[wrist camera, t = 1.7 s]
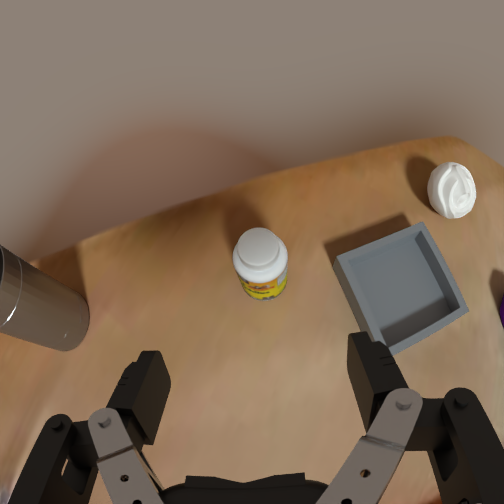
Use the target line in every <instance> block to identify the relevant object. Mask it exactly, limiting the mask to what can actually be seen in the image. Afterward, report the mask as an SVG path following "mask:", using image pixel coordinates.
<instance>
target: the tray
mask: <svg viewBox="0 0 504 504" xmlns="http://www.w3.org/2000/svg"><path fill="white" fill-rule="evenodd" d="M333 269H334V272H335V274H336V276H337V278H338V280H339V282H340V284H341V287H342V289H343V291H344V293H345V295H346V298H347V300H348V302H349V304H350V307H351V309H352V311H353V313H354V316H355V318H356V320H357V323H358V325H359V327H360V330H361V332H363V331H367V333H368V335H369V337H370V339H371V341H372V342H375V341H381V342H382V343H383V344H385V345H386V346H387V347H388V348H389V350H390V352H391V354H392V356H393V355H395V354H397V353H399V352H401V351H402V350H404V349H406V348H408V347H410V346H412V345H414V344H415V343H417V342H419V341H421V340H423V339H424V338H426V337H428V336H430V335H431V334H433V333H435V332H436V331H438V330H440V329H441V328H443V327H445V326H446V325H448V324H450V323H451V322H453V321H455V320H456V319H458V318H459V317H461V316H462V315H464V314H465V313H467V312H469V309H468V307H467V305H466V303H465V301H464V298H463V296H462V294H461V292H460V290H459V288H458V286H457V284H456V282H455V280H454V278H453V276H452V274H451V272H450V270H449V268H448V266H447V264H446V262H445V260H444V258H443V256H442V254H441V252H440V251H439V249H438V247H437V245H436V243H435V242H434V240H433V238H432V236H431V235H430V233H429V231H428V229H427V228H426V226H425V224H424V223H423V221H422V222H420V223H418V224H415V225H413V226H410V227H408V228H406V229H403V230H401V231H398V232H396V233H393V234H391V235H388V236H386V237H384V238H381V239H379V240H376V241H374V242H371V243H369V244H366V245H364V246H361V247H359V248H356V249H354V250H351V251H348V252H346V253H343V254H341V255H338V256H336V259H335V262H334V264H333Z"/></svg>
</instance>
